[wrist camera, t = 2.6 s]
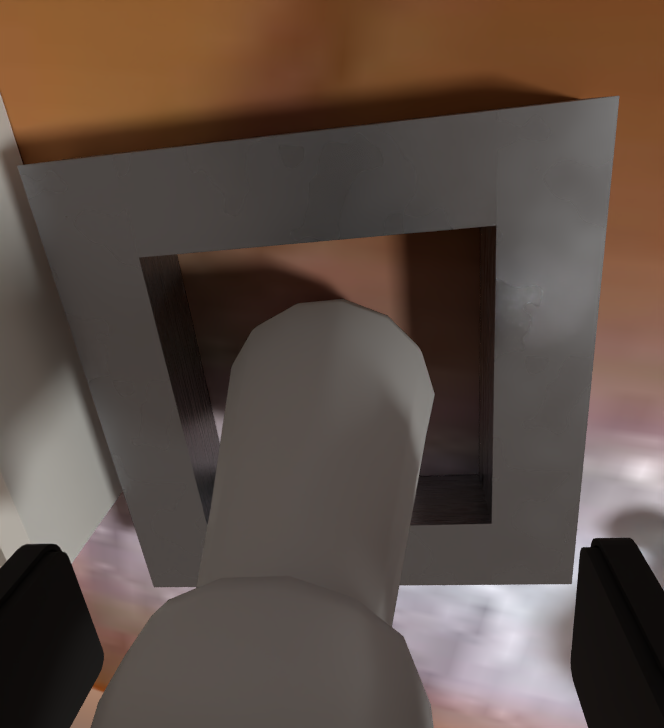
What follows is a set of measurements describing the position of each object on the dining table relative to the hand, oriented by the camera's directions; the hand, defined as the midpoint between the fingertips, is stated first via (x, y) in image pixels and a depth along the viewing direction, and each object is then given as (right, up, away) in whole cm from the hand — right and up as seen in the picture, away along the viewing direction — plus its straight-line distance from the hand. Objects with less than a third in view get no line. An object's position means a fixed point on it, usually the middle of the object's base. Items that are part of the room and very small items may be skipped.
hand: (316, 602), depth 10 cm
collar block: (0, +4, +8) cm, 9 cm away
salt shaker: (0, +4, +8) cm, 9 cm away
